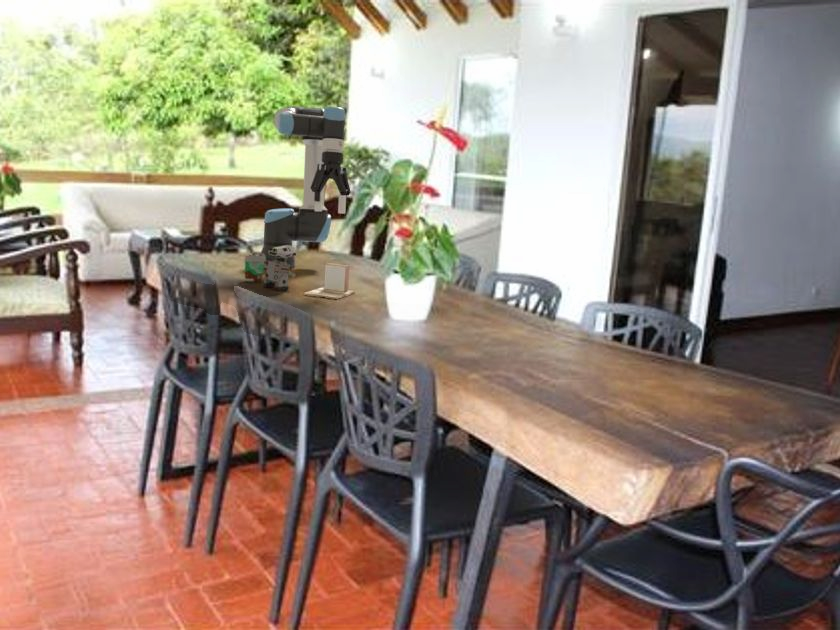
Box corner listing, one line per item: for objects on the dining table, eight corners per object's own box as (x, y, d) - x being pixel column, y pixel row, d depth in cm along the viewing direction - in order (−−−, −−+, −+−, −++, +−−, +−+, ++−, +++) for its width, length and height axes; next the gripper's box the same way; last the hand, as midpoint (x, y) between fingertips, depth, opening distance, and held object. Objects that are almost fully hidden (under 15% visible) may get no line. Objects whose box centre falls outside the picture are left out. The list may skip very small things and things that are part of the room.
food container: (261, 285, 298) (262, 257, 296) (243, 283, 298) (245, 255, 296) (268, 279, 310) (269, 252, 308) (251, 278, 310) (252, 251, 308)
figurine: (301, 289, 296) (303, 247, 293) (275, 291, 287) (277, 248, 284) (285, 285, 302) (287, 243, 299) (259, 287, 293) (261, 244, 290)
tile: (327, 288, 298) (328, 263, 296) (347, 290, 296) (349, 265, 294) (323, 289, 295) (324, 263, 293) (344, 292, 293) (345, 266, 291)
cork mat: (323, 288, 300) (323, 286, 300) (354, 293, 297) (354, 291, 296) (303, 295, 285) (303, 292, 285) (336, 299, 282) (336, 297, 281)
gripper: (319, 147, 284) (316, 210, 286) (361, 156, 305) (359, 214, 307) (301, 147, 288) (299, 210, 289) (345, 156, 309) (342, 214, 311)
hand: (330, 212), depth 298 cm, fingers open, 13 cm apart
